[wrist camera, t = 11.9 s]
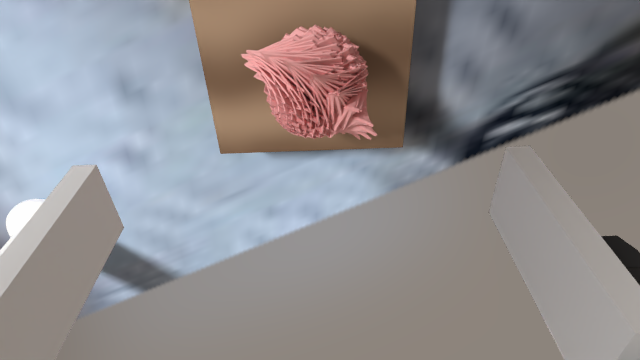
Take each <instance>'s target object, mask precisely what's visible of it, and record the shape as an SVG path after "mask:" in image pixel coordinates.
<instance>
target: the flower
mask: <svg viewBox="0 0 640 360" xmlns="http://www.w3.org/2000/svg"><path fill="white" fill-rule="evenodd" d="M358 48H359V46H356V45H355V44H353V43H352V42H350V39H348V38H347V37H346V35H342V34H341V32H336V31H335V30H334V29H333V28H332V27H331V28H329V29H328V28H326V27H324V28H323V29H322V28H321V27H320V26H317V25H316V24H315V25H314V26H313V27H310V28H309V29H306V28H304V27H302V26H300V27H299V28H296V29H295V30H294V31H293V32H292V33H291V34H290V35H289V34H285V36H284V37H283V39H282V40H281V41H279V42H277V43H274V44H272V45H270V46H267V47H265V48H263V49H260V50H258V51H256V50H246V52H247V53H248V54H241V55H242V57H243V58H244V59H246V60H247V61H248V62H247V63H245V64H244V65H245V66H246V67H248V68H250V69H251V70H253V71H255V72H257V73H256V74H255V76H254V77H255V78H256V79H259V80H261V81H263V82H264V83H265V88H264V92H265V93H266V94H267V95H268V96H267V100H266V101H267V102H268V103H269V104H270V105H271V106H270V108H271V110H272V112H271V114H273V115H274V117H276V119H275V120H276V121H277V122H278V123H280V125H281V126H282V127H283V128H284V129H286V130H287V131H288V132H290V133H292V134H295V135H297V136H299V137H300V136H302V137H304V138H307V137H310V138H313V139H316V138H317V137H318V138H322V137H324V136H327V137H329V138H331V137H332V136H333V135H334V134H335V135H336V134H338V133H342V134H345V133H350V134H352V135H354V136H355V137H356V138H357V139H359V140H360V136H359V135H358V134H361V135H362V136H364V137H365V138H367V139H370V140H371V137H369V136H368V135H367V134H366V133H370V134H372V135H374V136H377V133H376V132H375V131H374V130H373V129H372V127H373V124H372V122H371V121H370V119H369V116H368V112H367V100H366V99H367V92H368V89H367V82H366V80H365V79H366V77H367V75H368V74H369V73H368V70H367V69H366V68H367V67H368V66H367V65H366V61H365V60H364V59H363V57H362V56H360V55H359V51H357V49H358Z"/></svg>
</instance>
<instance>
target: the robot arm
mask: <svg viewBox="0 0 640 360" xmlns="http://www.w3.org/2000/svg"><path fill="white" fill-rule="evenodd" d="M489 214H490V216H491V217H492V220H493V221H494V223H495V225H496V227H497V229H498V231H499V233H500V235H501V237H502V239H503V241H504V243H505V245H506V247H507V249H508V251H509V253H510V255H511V257H512V259H513V261H514V263H515V264H516V266H517V268H518V270H519V272H520V274H521V276H522V278H523V280H524V282H525V284H526V286H527V288H528V290H529V292H530V294H531V296H532V298H533V300H534V302H535V304H536V305H537V307H538V309H539V311H540V313H541V315H542V317H543V319H544V321H545V323H546V325H547V327H548V329H549V331H550V333H551V335H552V337H553V339H554V341H555V343H556V344H557V346H558V348H559V350H560V352H561V354H562V356H563V358H564V360H640V253H639V252H638V250H636V249H635V248H634V247H632V246H631V245H629V244H628V243H626V242H625V241H624V240H622V239H621V238H619V237H618V236H601V235H600V234H599V233H598V232H597V230H596V229H595V228H594V227H593V225H592V224H591V223H590V221H589V220H588V219H587V218H586V216H585V215H584V214H583V212H582V211H581V210H580V209H579V207H578V206H577V205H576V204H575V202H574V201H573V200H572V198H571V197H570V196H569V195H568V193H567V192H566V191H565V189H564V188H563V187H562V186H561V184H560V183H559V182H558V181H557V179H556V178H555V177H554V175H553V174H552V173H551V172H550V170H549V169H548V168H547V166H546V165H545V164H544V163H543V161H542V160H541V159H540V158H539V156H538V155H537V154H536V152H535V151H534V150H533V149H532V147H531V146H514V147H506V149H505V153H504V157H503V160H502V164H501V168H500V172H499V175H498V179H497V183H496V187H495V190H494V194H493V198H492V202H491V205H490V209H489ZM123 228H124V226H123V224H122V222H121V219H120V217H119V215H118V213H117V210H116V208H115V206H114V204H113V201H112V199H111V197H110V194H109V192H108V190H107V188H106V185H105V183H104V181H103V179H102V176H101V174H100V172H99V170H98V167H97V165H77V166H72V167H71V168H70V170H69V171H68V172H67V173H66V175H65V176H64V177H63V178H62V180H61V181H60V182H59V183H58V185H57V186H56V187H55V188H54V190H53V191H52V192H51V193H50V195H49V196H48V197H47V198H46V200H45V201H44V202H43V204H42V205H41V206H40V207H39V209H38V210H37V211H36V212H35V214H34V215H33V216H32V217H31V219H30V220H29V221H28V222H27V224H26V225H25V226H24V227H23V229H22V230H21V231H20V232H19V234H18V235H17V236H16V237H15V239H14V240H13V241H12V242H11V244H10V245H9V246H8V247H7V249H6V250H5V251H4V252H3V254H2V255H1V256H0V360H55V359H56V357H57V355H58V353H59V351H60V349H61V347H62V345H63V343H64V341H65V339H66V338H67V336H68V334H69V332H70V330H71V328H72V326H73V324H74V322H75V320H76V319H77V317H78V315H79V313H80V311H81V309H82V307H83V305H84V303H85V301H86V299H87V297H88V295H89V294H90V292H91V290H92V288H93V286H94V284H95V282H96V280H97V278H98V276H99V274H100V272H101V271H102V269H103V267H104V265H105V263H106V261H107V259H108V257H109V255H110V253H111V251H112V249H113V247H114V246H115V244H116V242H117V240H118V238H119V236H120V234H121V232H122V230H123Z"/></svg>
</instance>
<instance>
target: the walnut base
mask: <svg viewBox="0 0 640 360" xmlns="http://www.w3.org/2000/svg"><path fill="white" fill-rule="evenodd" d="M189 3H190V8H191V12H192V17H193V22H194V27H195V32H196V37H197V41H198V46H199V51H200V56H201V61H202V66H203V71H204V75H205V80H206V85H207V90H208V95H209V100H210V105H211V109H212V114H213V119H214V124H215V129H216V134H217V139H218V143H219V148H220V153H221V154H224V153H252V152H281V151H310V150H339V149H367V148H396V147H403V138H404V127H405V117H406V106H407V95H408V84H409V74H410V63H411V52H412V41H413V31H414V20H415V9H416V0H189ZM315 24H316V25H317V26H320V27H321V28H322V29H323V28H324V27H326V28H328V29H329V28H331V27H332V28H333V29H334V30H335V31H336V32H341V34H342V35H346V37H347V38H348V39H350V42H352V43H353V44H355V45H356V46H359V48H358V49H357V51H359V55H360V56H362V57H363V59H364V60H365V61H366V65H367V66H368V67H367V68H366V69H367V70H368V73H369V74H368V75H367V77H366V79H365V80H366V82H367V89H368V92H367V99H366V100H367V112H368V116H369V119H370V121H371V122H372V124H373V127H372V129H373V130H374V131H375V132H376V133H377V136H374V135H372V134H370V133H366V134H367V135H368V136H369V137H371V140H370V139H367V138H365V137H364V136H362V135H361V134H358V135H359V136H360V140H359V139H357V138H356V137H355V136H354V135H352V134H350V133H345V134H342V133H338V134H336V135H335V134H334V135H333V136H332V137H331V138H329V137H327V136H324V137H322V138H318V137H317V138H316V139H313V138H310V137H307V138H304V137H302V136H300V137H299V136H297V135H295V134H292V133H290V132H288V131H287V130H286V129H284V128H283V127H282V126H281V125H280V123H278V122H277V121H276V120H275V119H276V117H274V115H273V114H271V112H272V110H271V108H270V106H271V105H270V104H269V103H268V102H267V101H266V100H267V96H268V95H267V94H266V93H265V92H264V88H265V83H264V82H263V81H261V80H259V79H256V78H255V77H254V76H255V74H256V73H257V72H255V71H253V70H251V69H250V68H248V67H246V66H245V65H244V64H245V63H247V62H248V61H247V60H246V59H244V58H243V57H242V55H241V54H248V53H247V52H246V50H256V51H258V50H260V49H263V48H265V47H267V46H270V45H272V44H274V43H277V42H279V41H281V40H282V39H283V37H284V36H285V34H289V35H290V34H291V33H292V32H293V31H294V30H295V29H296V28H299V27H300V26H302V27H304V28H306V29H309V28H310V27H313V26H314V25H315Z"/></svg>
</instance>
